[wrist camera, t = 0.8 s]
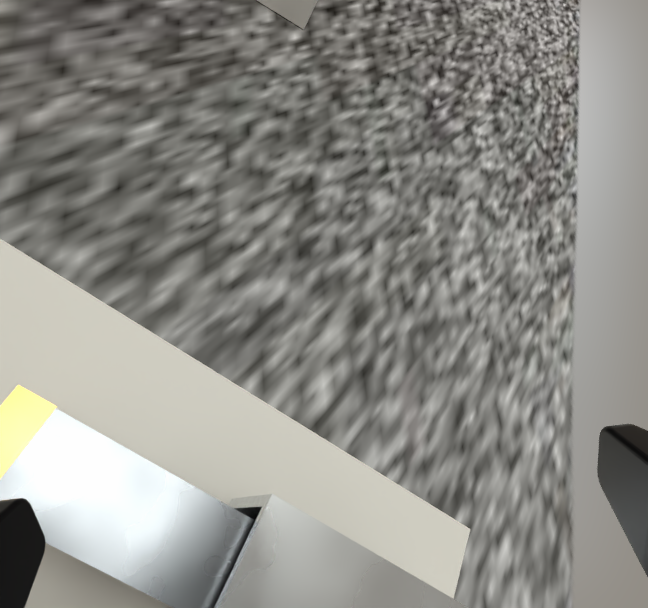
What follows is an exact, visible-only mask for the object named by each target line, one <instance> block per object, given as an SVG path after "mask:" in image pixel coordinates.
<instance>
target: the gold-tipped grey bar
mask: <svg viewBox="0 0 648 608" xmlns="http://www.w3.org/2000/svg"><path fill="white" fill-rule="evenodd" d="M16 498H24V499H26V500H27V501H29V502H30V504H31V506H32V508H33V510H34V513H35V515H36V517H37V519H38V522H39V524H40V526H41V528H42V531H43V533H44V536H45V541H46V543H47V544H49V545H51V546H53V547H55V548H57V549H59V550H61V551H63V552H65V553H67V554H69V555H71V556H73V557H75V558H77V559H78V560H80V561H82V562H84V563H86V564H88V565H90V566H92V567H94V568H96V569H98V570H100V571H102V572H104V573H106V574H108V575H110V576H112V577H114V578H116V579H118V580H120V581H122V582H124V583H126V584H128V585H130V586H132V587H134V588H136V589H138V590H140V591H142V592H144V593H145V594H147V595H149V596H151V597H153V598H155V599H157V600H159V601H161V602H163V603H165V604H167V605H169V606H171V607H173V608H214V607H215V605H216V603H217V601H218V599H219V597H220V595H221V592H222V590H223V588H224V586H225V584H226V582H227V580H228V578H229V576H230V573H231V571H232V569H233V567H234V565H235V563H236V561H237V559H238V557H239V555H240V552H241V550H242V548H243V546H244V544H245V542H246V540H247V538H248V536H249V533H250V531H251V529H252V527H253V525H254V523H255V520H253V519H251V518H250V517H248V516H246V515H244V514H243V513H241V512H239V511H237V510H235V509H234V508H232V507H230V506H228V505H227V504H225V503H223V502H221V501H220V500H218V499H216V498H214V497H212V496H211V495H209V494H207V493H205V492H204V491H202V490H200V489H198V488H196V487H195V486H193V485H191V484H189V483H188V482H186V481H184V480H182V479H180V478H179V477H177V476H175V475H173V474H172V473H170V472H168V471H166V470H165V469H163V468H161V467H159V466H157V465H156V464H154V463H152V462H150V461H149V460H147V459H145V458H143V457H141V456H140V455H138V454H136V453H134V452H133V451H131V450H129V449H127V448H125V447H124V446H122V445H120V444H118V443H117V442H115V441H113V440H111V439H110V438H108V437H106V436H104V435H102V434H101V433H99V432H97V431H95V430H94V429H92V428H90V427H88V426H86V425H85V424H83V423H81V422H79V421H78V420H76V419H74V418H72V417H70V416H69V415H67V414H65V413H63V412H62V411H60V410H58V409H57V406H55V405H54V404H52V403H50V402H48V401H46V400H45V399H43V398H41V397H39V396H38V395H36V394H34V393H32V392H30V391H29V390H27V389H25V388H23V387H22V386H20V385H18V386H17V387H16V388H15V389H14V390H13V392H12V393H11V394H10V395H9V396H8V398H7V399H6V400H5V401H4V402H3V403H2V405H1V406H0V501H1V500H7V499H16Z"/></svg>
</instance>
